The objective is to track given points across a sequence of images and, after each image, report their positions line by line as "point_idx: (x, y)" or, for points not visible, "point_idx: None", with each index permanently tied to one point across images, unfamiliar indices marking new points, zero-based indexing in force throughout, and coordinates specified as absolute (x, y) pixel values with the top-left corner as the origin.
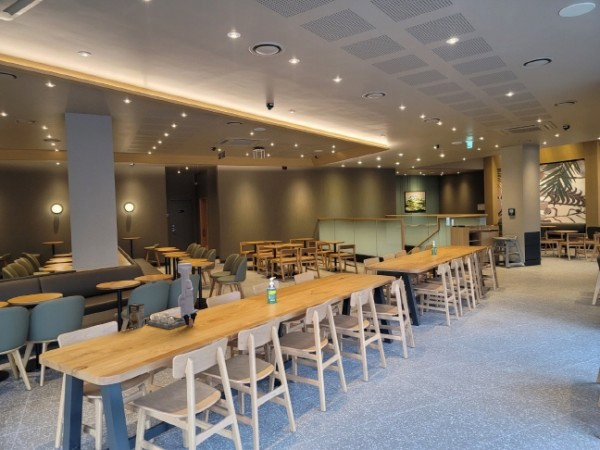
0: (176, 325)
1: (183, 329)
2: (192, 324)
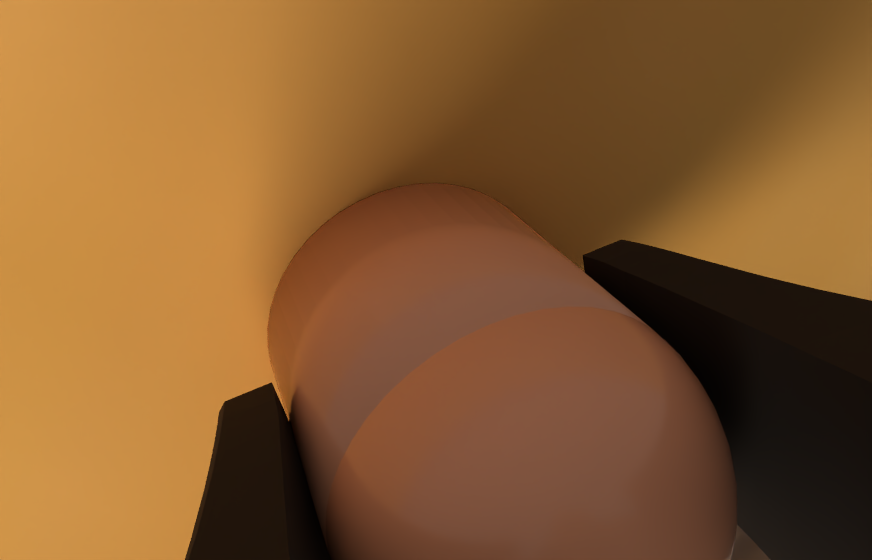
0: None
1: (849, 4)
2: (386, 247)
